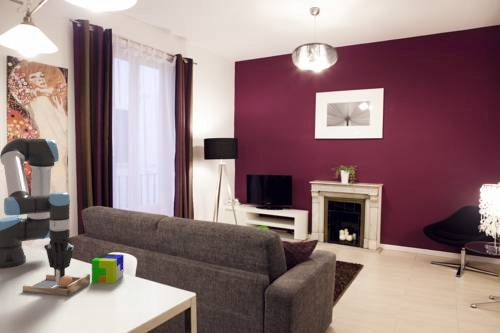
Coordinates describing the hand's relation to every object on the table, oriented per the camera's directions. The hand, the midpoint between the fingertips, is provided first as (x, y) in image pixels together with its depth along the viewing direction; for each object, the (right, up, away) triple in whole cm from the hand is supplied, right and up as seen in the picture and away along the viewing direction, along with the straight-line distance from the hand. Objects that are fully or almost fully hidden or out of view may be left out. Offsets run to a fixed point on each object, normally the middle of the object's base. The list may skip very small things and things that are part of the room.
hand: (59, 283), depth 150 cm
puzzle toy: (+16, -2, +12) cm, 20 cm away
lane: (-1, -2, 0) cm, 2 cm away
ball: (+3, +1, -1) cm, 4 cm away
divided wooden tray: (-1, -2, 0) cm, 2 cm away
